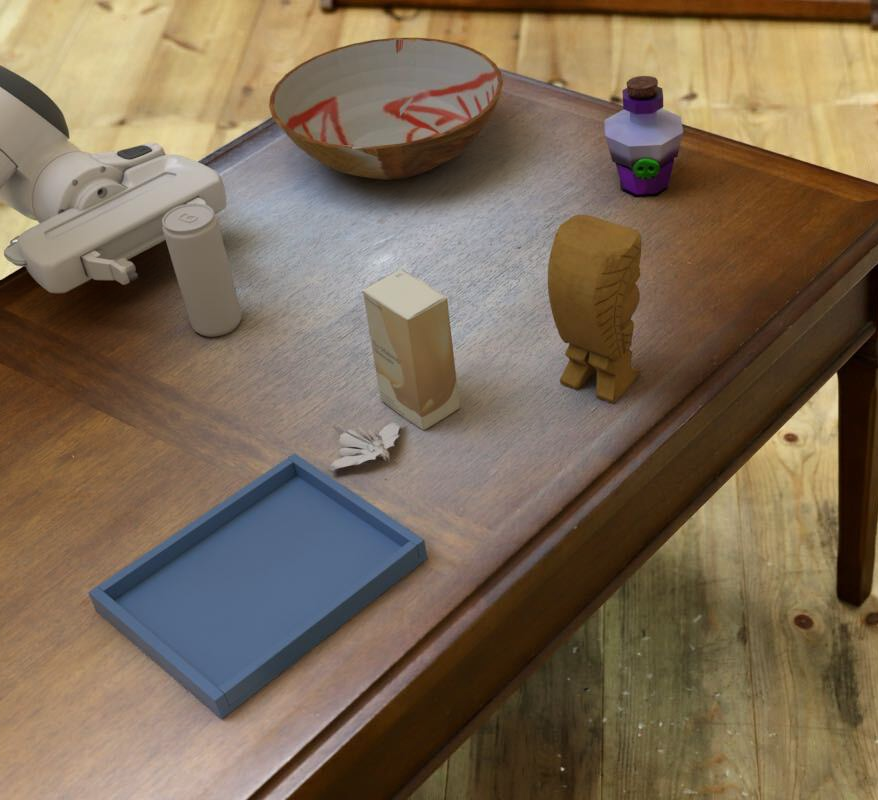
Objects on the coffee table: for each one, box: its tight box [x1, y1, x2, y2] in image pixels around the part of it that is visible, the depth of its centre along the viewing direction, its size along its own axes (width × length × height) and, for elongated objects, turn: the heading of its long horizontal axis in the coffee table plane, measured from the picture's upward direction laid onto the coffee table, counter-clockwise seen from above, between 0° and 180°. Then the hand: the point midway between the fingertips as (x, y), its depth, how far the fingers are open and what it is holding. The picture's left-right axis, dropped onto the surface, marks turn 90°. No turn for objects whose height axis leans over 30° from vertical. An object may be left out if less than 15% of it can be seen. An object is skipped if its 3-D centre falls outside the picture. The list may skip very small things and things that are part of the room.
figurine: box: [547, 214, 642, 404], centre depth 117 cm, size 7×7×15 cm
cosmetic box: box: [362, 268, 461, 431], centre depth 116 cm, size 6×4×12 cm
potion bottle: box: [604, 75, 684, 198], centre depth 143 cm, size 9×9×12 cm
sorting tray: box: [87, 453, 428, 720], centre depth 104 cm, size 20×16×2 cm
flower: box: [329, 420, 403, 471], centre depth 116 cm, size 8×8×3 cm
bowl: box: [268, 37, 504, 181], centre depth 151 cm, size 25×25×8 cm
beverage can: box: [162, 203, 243, 338], centre depth 127 cm, size 5×5×12 cm
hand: (173, 252), depth 129 cm, fingers open, 8 cm apart
